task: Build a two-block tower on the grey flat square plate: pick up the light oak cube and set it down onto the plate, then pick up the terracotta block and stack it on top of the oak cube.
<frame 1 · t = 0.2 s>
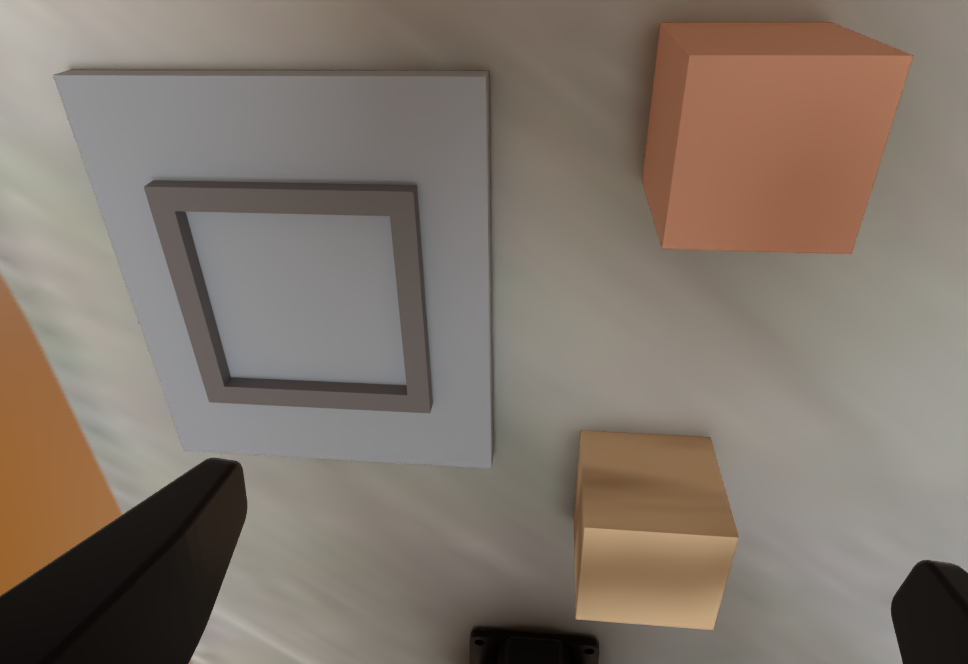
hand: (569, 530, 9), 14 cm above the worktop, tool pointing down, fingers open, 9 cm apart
terracotta block: (729, 107, 19), on the worktop
oak cube: (637, 478, 27), on the worktop
grey flat square plate: (311, 290, 24), on the worktop
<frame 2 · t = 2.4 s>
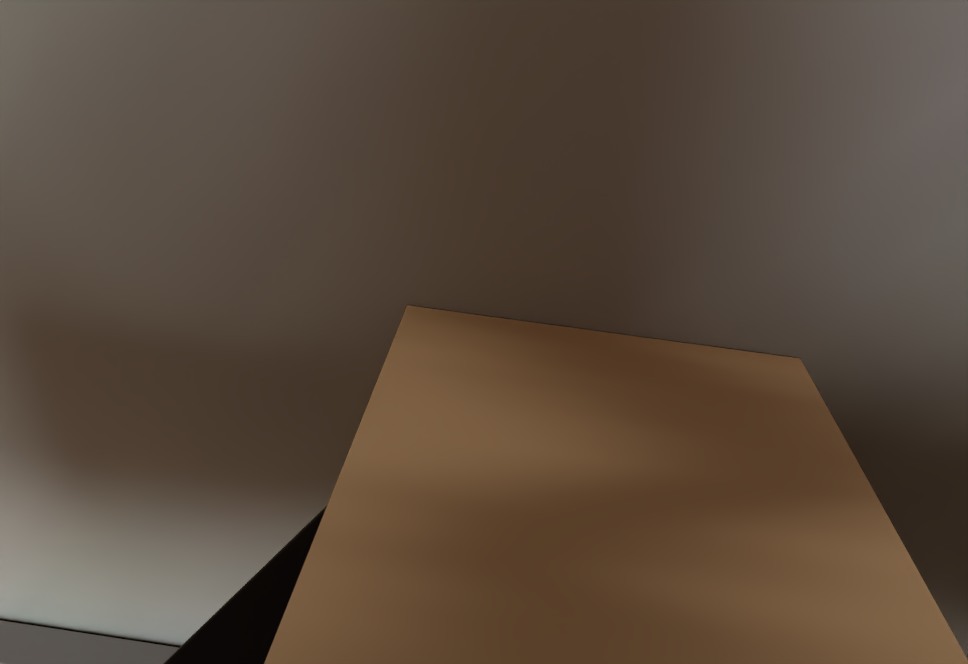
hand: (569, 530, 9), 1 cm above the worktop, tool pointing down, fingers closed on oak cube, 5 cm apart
oak cube: (568, 474, 10), on the worktop, touching gripper
when the fingers open (3 cm above the worktop, at t = 6.7 s): oak cube drops 1 cm, resting on grey flat square plate.
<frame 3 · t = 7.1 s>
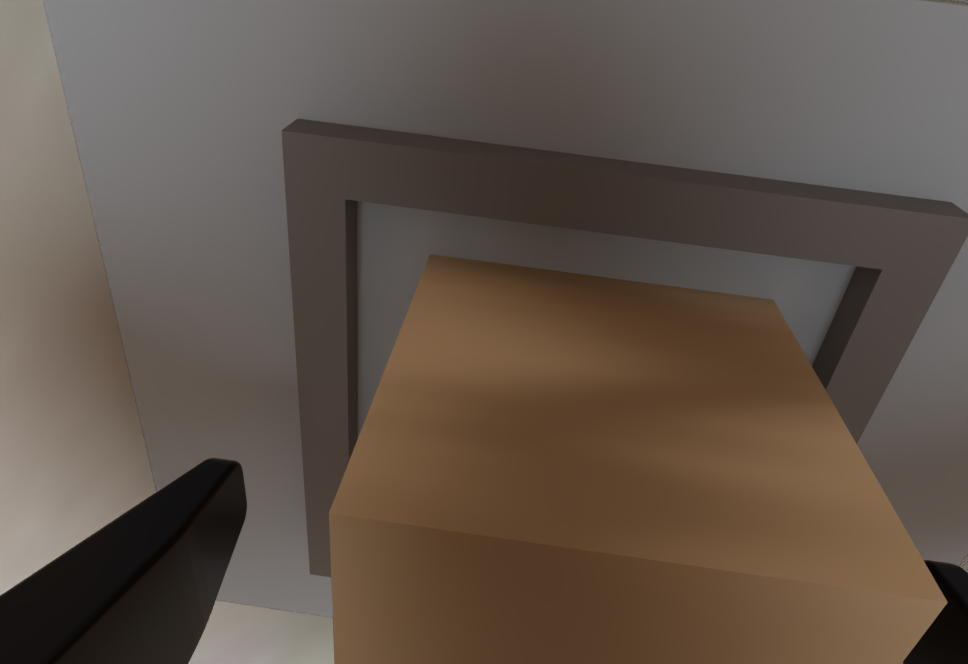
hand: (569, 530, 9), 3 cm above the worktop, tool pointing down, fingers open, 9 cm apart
oak cube: (571, 410, 11), point 1 cm above the worktop, touching grey flat square plate
grey flat square plate: (565, 385, 12), on the worktop
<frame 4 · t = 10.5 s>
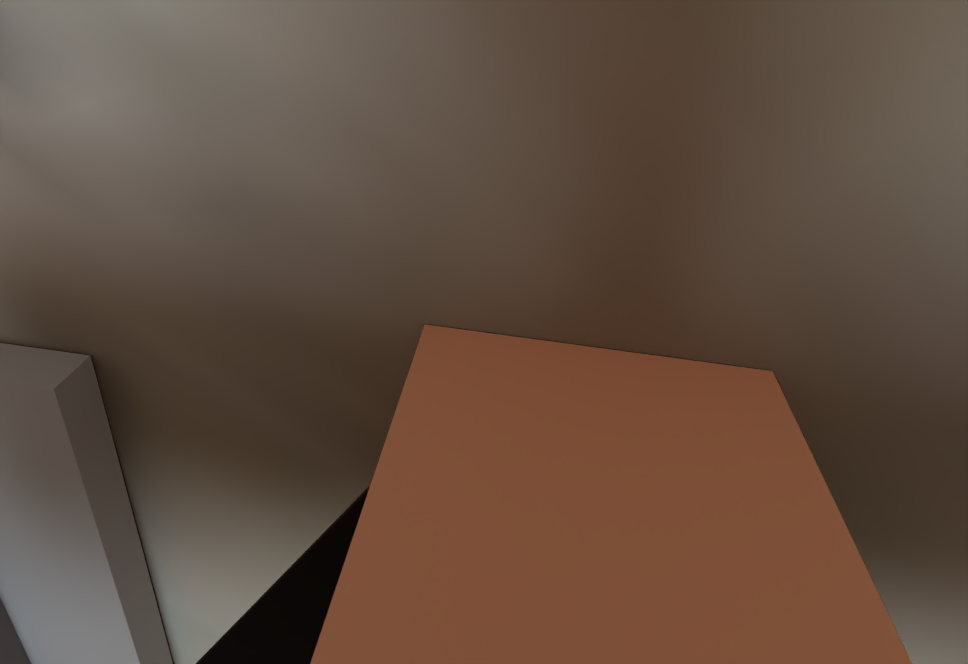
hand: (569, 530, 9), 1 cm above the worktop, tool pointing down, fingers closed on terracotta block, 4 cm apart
terracotta block: (568, 474, 10), on the worktop, touching gripper
when the fingers open (8 cm above the worktop, at t = 13.7 s): terracotta block drops 1 cm, resting on oak cube.
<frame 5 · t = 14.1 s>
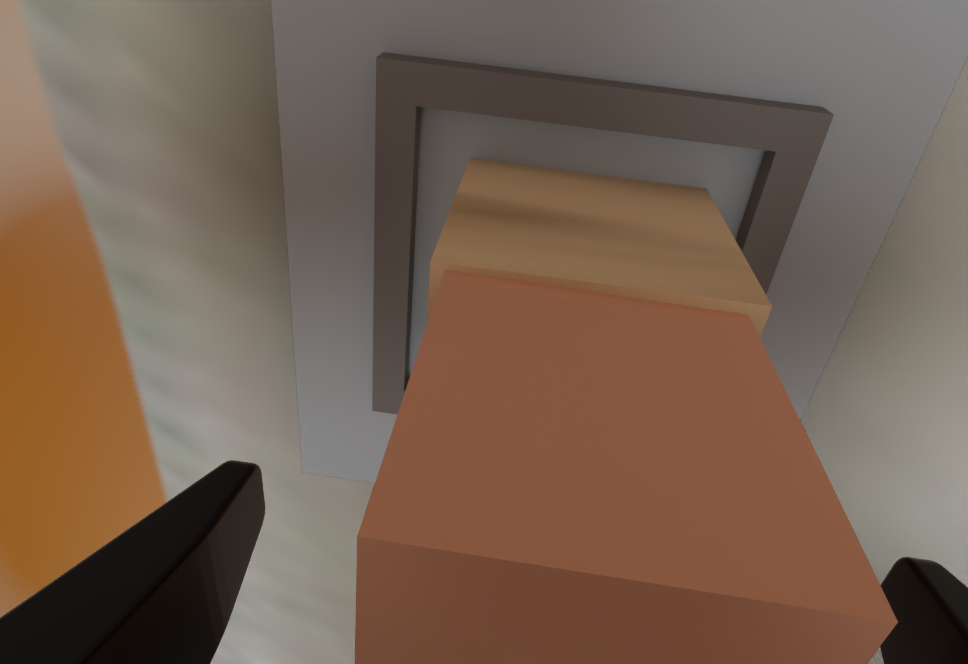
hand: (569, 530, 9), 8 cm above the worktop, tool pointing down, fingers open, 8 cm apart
terracotta block: (568, 410, 11), point 6 cm above the worktop, touching oak cube
oak cube: (567, 278, 15), point 1 cm above the worktop, touching grey flat square plate, terracotta block
grey flat square plate: (564, 260, 16), on the worktop
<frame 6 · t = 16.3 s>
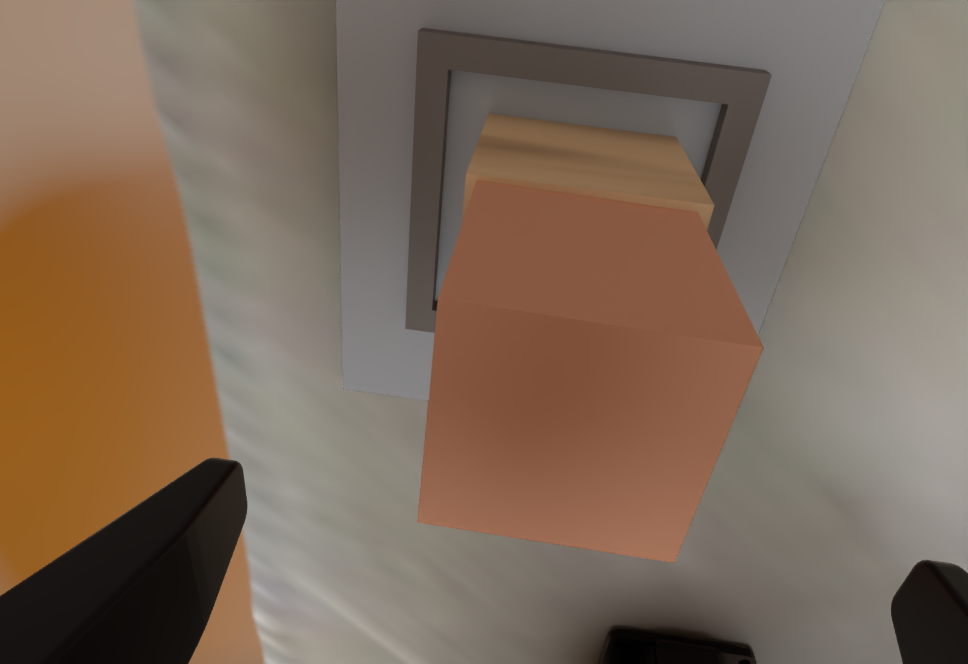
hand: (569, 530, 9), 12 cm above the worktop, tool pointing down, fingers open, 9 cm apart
terracotta block: (566, 293, 14), point 6 cm above the worktop, touching oak cube
oak cube: (566, 213, 19), point 1 cm above the worktop, touching grey flat square plate, terracotta block
grey flat square plate: (564, 200, 19), on the worktop
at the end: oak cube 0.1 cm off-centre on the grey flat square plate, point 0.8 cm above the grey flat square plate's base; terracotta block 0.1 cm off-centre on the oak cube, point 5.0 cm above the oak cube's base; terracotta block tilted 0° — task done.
